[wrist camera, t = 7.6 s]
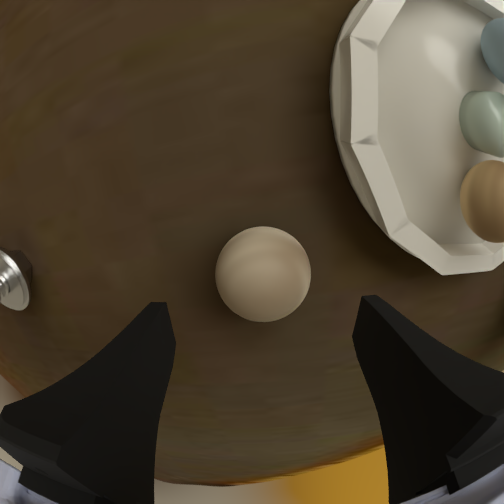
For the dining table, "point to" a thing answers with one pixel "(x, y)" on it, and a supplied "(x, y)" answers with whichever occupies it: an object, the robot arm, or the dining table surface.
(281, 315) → the bead birch
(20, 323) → the dining table surface
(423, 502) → the robot arm
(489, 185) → the bead oak
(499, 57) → the bead blue
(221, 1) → the dining table surface
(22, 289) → the screw
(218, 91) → the dining table surface
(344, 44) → the tray
